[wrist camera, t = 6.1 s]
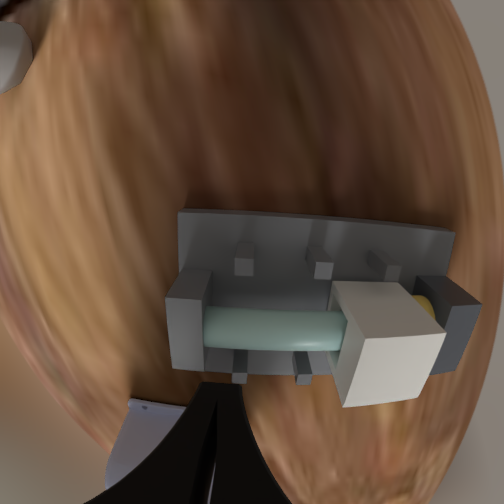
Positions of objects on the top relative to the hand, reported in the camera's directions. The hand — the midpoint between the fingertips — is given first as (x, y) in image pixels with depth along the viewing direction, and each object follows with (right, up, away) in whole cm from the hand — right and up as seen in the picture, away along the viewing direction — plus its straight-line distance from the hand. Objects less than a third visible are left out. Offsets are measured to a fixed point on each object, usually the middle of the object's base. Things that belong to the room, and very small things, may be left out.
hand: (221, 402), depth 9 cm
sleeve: (+7, +2, +6) cm, 10 cm away
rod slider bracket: (+5, +2, +8) cm, 10 cm away
